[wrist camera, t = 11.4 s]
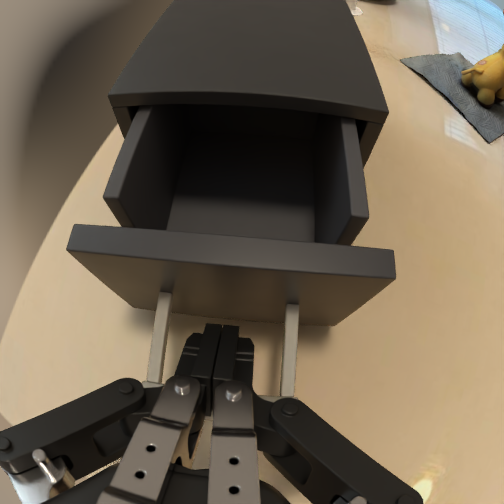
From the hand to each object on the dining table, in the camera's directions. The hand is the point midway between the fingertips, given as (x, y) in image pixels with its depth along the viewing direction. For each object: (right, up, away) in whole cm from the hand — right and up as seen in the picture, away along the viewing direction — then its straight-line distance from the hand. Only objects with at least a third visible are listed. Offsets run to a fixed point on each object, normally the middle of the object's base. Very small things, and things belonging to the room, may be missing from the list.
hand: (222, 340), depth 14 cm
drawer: (+1, +4, +7) cm, 8 cm away
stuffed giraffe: (+33, +27, +19) cm, 46 cm away
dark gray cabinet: (+1, +14, +12) cm, 19 cm away
